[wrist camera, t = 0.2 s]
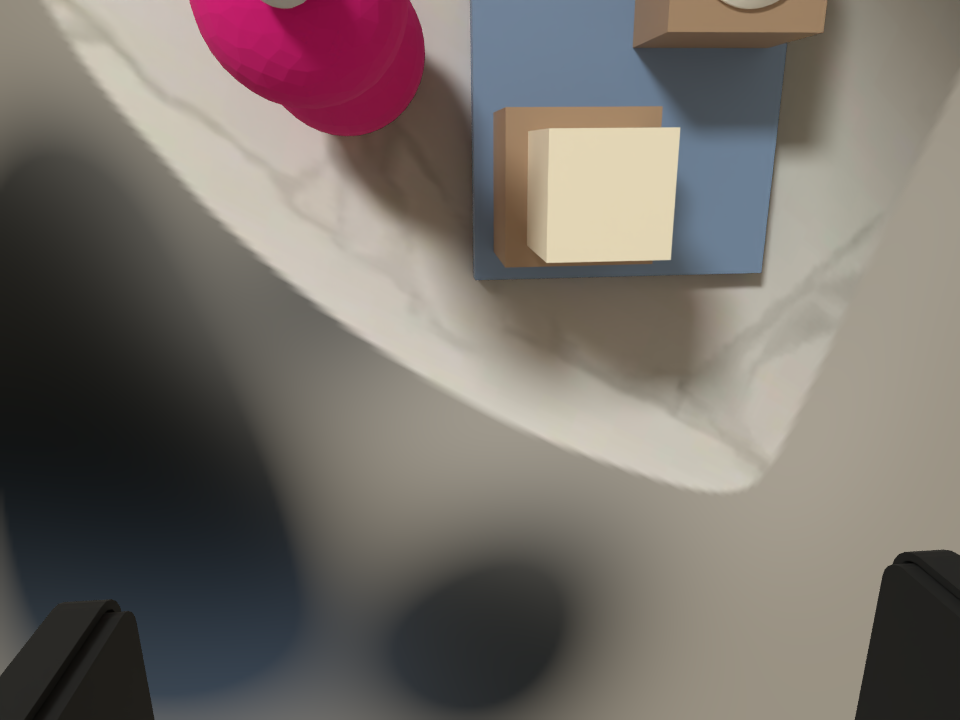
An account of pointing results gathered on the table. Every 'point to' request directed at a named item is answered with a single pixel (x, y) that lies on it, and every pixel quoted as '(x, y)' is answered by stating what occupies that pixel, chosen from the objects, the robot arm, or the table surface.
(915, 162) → the table surface
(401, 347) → the table surface
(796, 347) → the table surface
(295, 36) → the pepper mill
